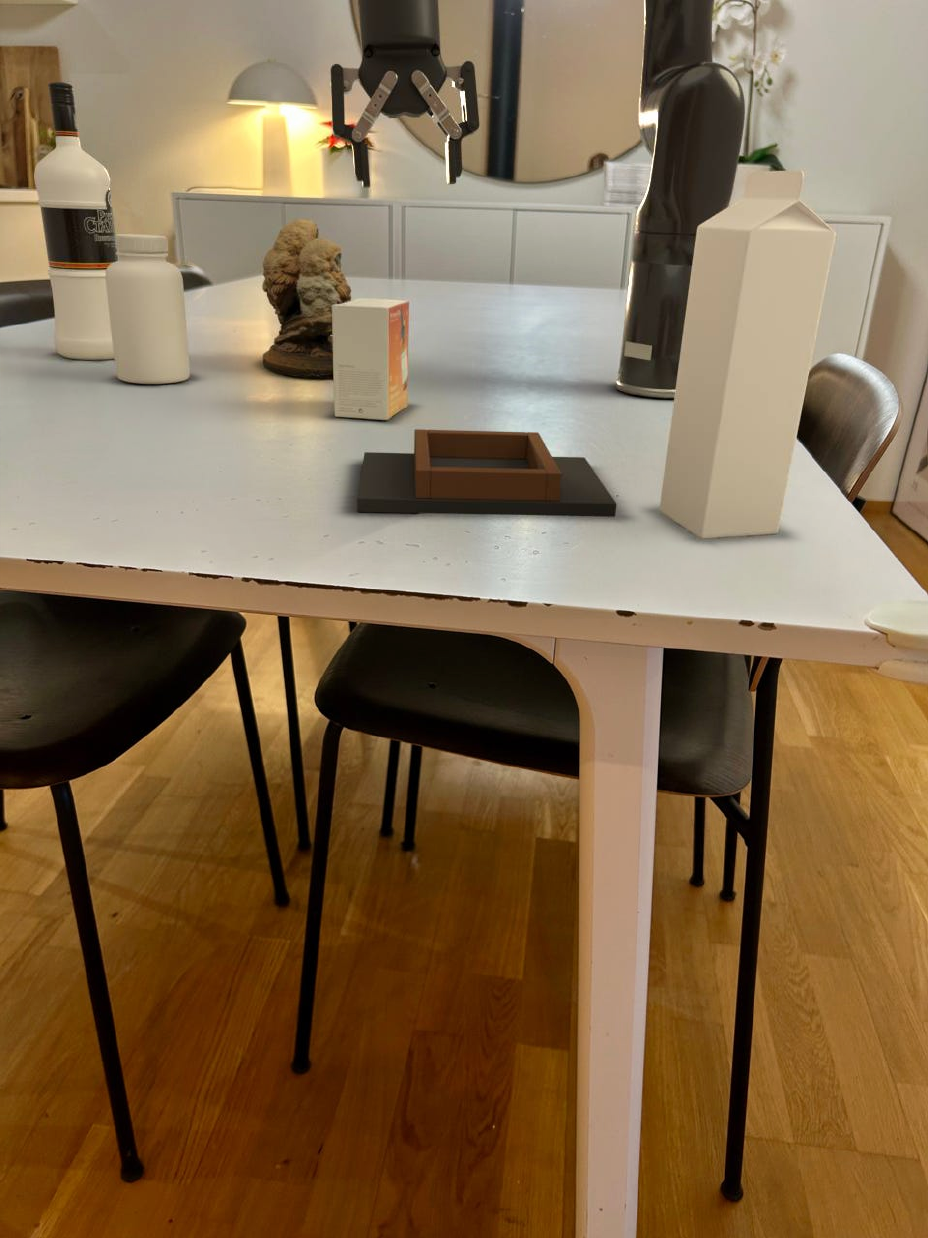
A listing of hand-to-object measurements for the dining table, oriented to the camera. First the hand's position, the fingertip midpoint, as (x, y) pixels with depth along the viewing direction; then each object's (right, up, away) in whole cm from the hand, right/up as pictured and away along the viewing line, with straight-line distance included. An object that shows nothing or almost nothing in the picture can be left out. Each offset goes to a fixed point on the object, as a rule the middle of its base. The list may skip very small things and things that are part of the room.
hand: (409, 185), depth 90 cm
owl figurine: (-13, -12, +22) cm, 29 cm away
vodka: (-41, -10, +25) cm, 49 cm away
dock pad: (+7, -33, -22) cm, 40 cm away
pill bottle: (-30, -16, +12) cm, 36 cm away
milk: (+23, -37, -27) cm, 51 cm away
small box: (-4, -22, +1) cm, 23 cm away
